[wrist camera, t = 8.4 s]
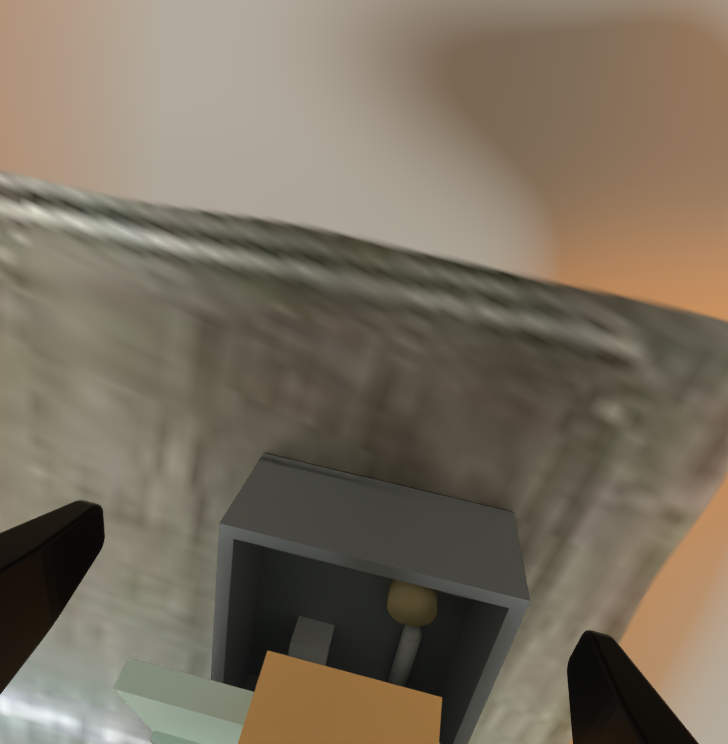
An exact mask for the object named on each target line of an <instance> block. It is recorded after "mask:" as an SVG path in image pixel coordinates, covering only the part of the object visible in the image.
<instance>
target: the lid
mask: <svg viewBox="0 0 728 744" xmlns="http://www.w3.org/2000/svg"><path fill="white" fill-rule="evenodd" d="M113 689H114V690H115V691H116V692H117V694H118V695H119V696H120V697H121V698H122V699H123V700H124V701H125V702H126V704H127V705H128V706H129V707H130V708H131V709H132V710H133V711H134V712H135V713H136V715H137V716H138V717H139V718H140V719H141V720H142V721H143V722H144V723H145V724H146V726H147V727H148V728H149V729H150V730H151V731H152V732H153V735H152V738H151V740H150V741H151V742H152V743H153V744H441V743H439V735H440V722H441V708H442V697H439V696H435V695H431V694H428V693H424V692H420V691H417V690H413V689H409V688H405V687H402V686H398V685H394V684H391V683H387V682H383V681H379V680H376V679H372V678H368V677H365V676H361V675H357V674H353V673H350V672H346V671H342V670H339V669H335V668H331V667H327V666H324V665H320V664H316V663H313V662H309V661H305V660H301V659H298V658H294V657H290V656H287V655H283V654H279V653H275V652H272V651H267V654H266V657H265V660H264V663H263V666H262V669H261V672H260V676H259V679H258V682H257V685H256V688H255V691H254V692H253V691H249V690H245V689H242V688H238V687H234V686H231V685H227V684H224V683H220V682H216V681H213V680H209V679H206V678H202V677H198V676H195V675H191V674H187V673H184V672H180V671H177V670H173V669H169V668H166V667H162V666H158V665H155V664H151V663H148V662H144V661H140V660H137V659H133V658H130V657H129V658H128V660H127V662H126V664H125V666H124V668H123V670H122V672H121V674H120V676H119V678H118V680H117V682H116V684H115V686H114V688H113Z"/></svg>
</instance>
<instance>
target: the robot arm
mask: <svg viewBox="0 0 728 744" xmlns="http://www.w3.org/2000/svg"><path fill="white" fill-rule="evenodd" d="M104 539H105V534H104V518H103V509H102V507H101V506H100V505H99V504H95V503H91V502H87V501H83V500H79V501H75V502H73V503H70V504H68V505H65V506H63V507H61V508H58V509H56V510H54V511H51V512H49V513H47V514H44V515H42V516H39V517H37V518H35V519H32V520H30V521H28V522H25V523H23V524H20V525H18V526H16V527H13V528H11V529H9V530H6V531H4V532H2V533H0V694H1V693H2V692H3V690H4V689H5V688H6V686H7V685H8V684H9V682H10V681H11V680H12V679H13V677H14V676H15V675H16V673H17V672H18V671H19V669H20V668H21V667H22V666H23V664H24V663H25V662H26V660H27V659H28V658H29V657H30V655H31V654H32V653H33V651H34V650H35V649H36V647H37V646H38V645H39V644H40V642H41V641H42V640H43V638H44V637H45V636H46V634H47V633H48V631H49V630H50V629H51V627H52V626H53V624H54V623H55V621H56V620H57V618H58V617H59V615H60V614H61V612H62V611H63V609H64V608H65V606H66V604H67V603H68V601H69V600H70V598H71V597H72V595H73V593H74V592H75V590H76V589H77V587H78V586H79V584H80V582H81V581H82V579H83V578H84V576H85V574H86V573H87V571H88V570H89V568H90V567H91V565H92V563H93V562H94V560H95V559H96V557H97V555H98V554H99V552H100V550H101V549H102V546H103V543H104ZM567 677H568V689H569V701H570V713H571V725H572V737H573V744H699V743H698V742H697V741H696V740H695V738H694V737H693V736H692V735H691V733H690V732H689V731H688V730H687V729H686V728H685V726H684V725H683V724H682V722H681V721H680V720H679V719H678V717H677V716H676V715H675V714H674V713H673V711H672V710H671V709H670V708H669V706H668V705H667V704H666V703H665V701H664V700H663V699H662V698H661V696H660V695H659V694H658V693H657V692H656V690H655V689H654V688H653V687H652V685H651V684H650V683H649V682H648V680H647V679H646V678H645V677H644V676H643V674H642V673H641V672H640V671H639V669H638V668H637V667H636V666H635V664H634V663H633V662H632V661H631V659H630V658H629V657H628V656H627V654H626V653H625V652H624V651H623V649H622V648H621V647H620V646H619V645H618V643H617V642H616V641H615V640H614V639H613V638H612V637H611V636H609V635H607V634H603V633H599V632H595V631H591V630H587V631H585V632H584V633H583V634H582V636H581V638H580V640H579V642H578V643H577V645H576V647H575V649H574V651H573V653H572V655H571V657H570V659H569V662H568V667H567Z"/></svg>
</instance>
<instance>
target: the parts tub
mask: <svg viewBox="0 0 728 744" xmlns="http://www.w3.org/2000/svg"><path fill="white" fill-rule="evenodd" d="M529 603H530V598H529V592H528V587H527V582H526V576H525V571H524V565H523V560H522V555H521V549H520V544H519V538H518V533H517V528H516V522H515V517H514V512H510V511H506V510H502V509H497V508H493V507H489V506H485V505H480V504H476V503H472V502H468V501H464V500H459V499H455V498H451V497H447V496H443V495H438V494H434V493H430V492H426V491H421V490H417V489H413V488H409V487H405V486H400V485H396V484H392V483H388V482H384V481H379V480H375V479H371V478H367V477H363V476H358V475H354V474H350V473H346V472H341V471H337V470H333V469H329V468H325V467H320V466H316V465H312V464H308V463H304V462H299V461H295V460H291V459H287V458H282V457H278V456H274V455H270V454H266V453H264V454H263V455H262V457H261V458H260V460H259V462H258V463H257V465H256V466H255V468H254V470H253V471H252V473H251V474H250V476H249V477H248V479H247V481H246V482H245V484H244V485H243V487H242V489H241V490H240V492H239V493H238V495H237V496H236V498H235V500H234V501H233V503H232V504H231V506H230V508H229V509H228V511H227V512H226V514H225V515H224V517H223V519H222V520H221V522H220V524H219V542H218V560H217V578H216V596H215V615H214V633H213V651H212V669H211V680H213V681H216V682H220V683H224V684H227V685H231V686H234V687H238V688H242V689H245V690H249V691H253V692H254V691H255V688H256V685H257V682H258V679H259V676H260V672H261V669H262V666H263V663H264V660H265V657H266V654H267V651H272V652H275V653H279V654H283V655H287V656H290V657H294V658H298V659H301V660H305V661H309V662H313V663H316V664H320V665H324V666H327V667H331V668H335V669H339V670H342V671H346V672H350V673H353V674H357V675H361V676H365V677H368V678H372V679H376V680H379V681H383V682H387V683H391V684H394V685H398V686H402V687H405V688H409V689H413V690H417V691H420V692H424V693H428V694H431V695H435V696H439V697H442V708H441V722H440V735H439V743H441V744H468V742H469V740H470V737H471V735H472V733H473V730H474V728H475V726H476V724H477V721H478V719H479V717H480V714H481V712H482V710H483V708H484V705H485V703H486V701H487V698H488V696H489V694H490V692H491V689H492V687H493V685H494V682H495V680H496V678H497V676H498V673H499V671H500V669H501V667H502V664H503V662H504V660H505V657H506V655H507V653H508V651H509V648H510V646H511V644H512V641H513V639H514V637H515V635H516V632H517V630H518V628H519V625H520V623H521V621H522V619H523V616H524V614H525V612H526V609H527V607H528V605H529Z"/></svg>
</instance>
